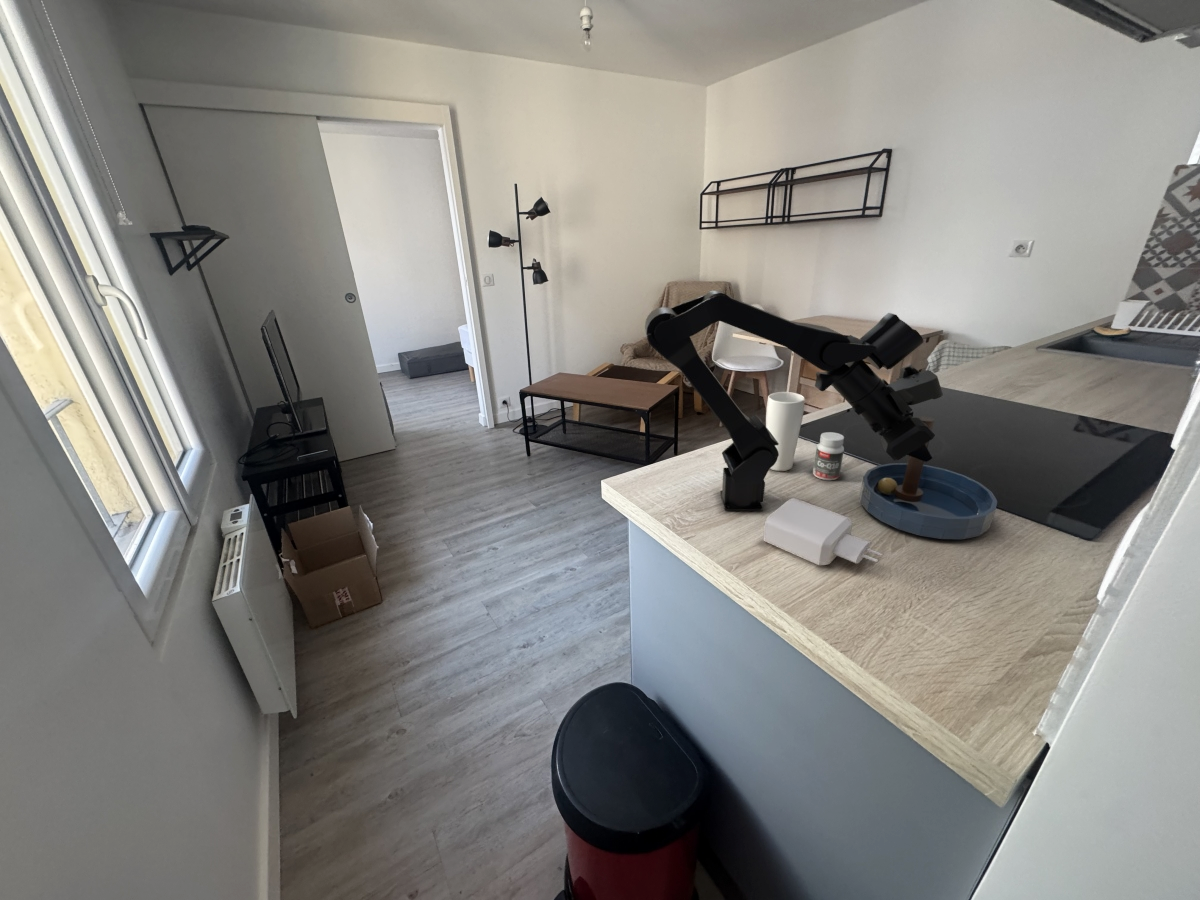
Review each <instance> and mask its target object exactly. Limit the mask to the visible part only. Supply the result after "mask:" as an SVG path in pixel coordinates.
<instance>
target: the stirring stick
mask: <svg viewBox="0 0 1200 900" xmlns="http://www.w3.org/2000/svg"><path fill="white" fill-rule="evenodd" d="M917 418H920V419H921V420H922V421H923V422H924V423H925V424H926V426H927V427H928V428H929V429H930V430H931V431H932V432H933V428H934V427H933V426H934V422H935V419H934V418H933V417H929V416H918V417H917ZM929 444H930V441H928V442H927V443H925V445H926V447H927V449H928V447H929ZM906 463H907V467H906V472H905V476H904V481H903V485H898V486H896V488H895V492H894V495H895V496H896V497H897V498H899V499H901V500H904V501H908V502H918V501H921V500H922V497H923V491H922V490H921V489H919V488H918V485H919V481H920V477H921V473H922V469H923V465H925V461H922V460H919V459H917V458H914V457H911V456H909V455H908V459H907V462H906Z"/></svg>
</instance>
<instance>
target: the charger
mask: <svg viewBox="0 0 1200 900" xmlns="http://www.w3.org/2000/svg"><path fill="white" fill-rule="evenodd" d="M853 525H854V524H853V522H852V521H851V519H850V518H849V516H846V515H843V514H840V513H838V512H834V511H831V510H829V509H826V508H824V507H821V506H818V505H814V504H812V503H809V502H807V501H803V500H800V499H798V498H795V497H791V498H789V499H788V500H787V501H786V502H784V503H783V504H782V505H781V506H779V507H778V508H776V510H774V511H773V512H771V514H770V515H768V516H767V517H766V519H765V521H764V528H763V529H764V530H763V541H764V543H767V544H769V545H772V546H774V547H777V548H778V549H781V550H783V551H786V552H788V553H790V554H793V555H794V556H797V557H799V558H801V559H804V560H806V561H808V562H811V563H813V564H815V565H817V566H826V565H830V564H831V563H832V562H833V561H834V560H835V559H836V557H840V558H841V559H844V560H847V561H849V562H851V563H854V564H860V563H861V561H862V560H863V559H866V560H869V561H871V562H873V563H878V562H879V559H877V558H875V557H872V556H870V555H867V554H868V553H870V554H872V555H875V556H878V557H880V558H881V557H882V558H883V556H884V555H883V553H882V552H879V551H876V550H873V549H871V546H872V542H871V541H869V540H866V539H864V538H861V537H858V536H855V535H854V534H852V531H853Z"/></svg>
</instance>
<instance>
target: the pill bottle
mask: <svg viewBox="0 0 1200 900" xmlns="http://www.w3.org/2000/svg"><path fill="white" fill-rule="evenodd" d="M819 437H820V438H819V442H818V443H817V445H816V449H815V455H814V461H813V462H814V463H813V467H812V468H813V469H812V474H813V476H814V477H816V479H817V478H818V479H819V480H823V481H835V480H837V479H839V477H840V473H841V469H842V464H843V457H844V453H845V447H844V441H845V436H844V435H843V434H841V433H838V432H834V431H833V432H832V431H827V432H826V431H825V432H822V433H821V434H820V436H819Z"/></svg>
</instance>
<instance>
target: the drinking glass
mask: <svg viewBox="0 0 1200 900" xmlns="http://www.w3.org/2000/svg"><path fill="white" fill-rule="evenodd" d="M805 399H806V398H805V396H803V395H802V394H800V393H797V392H790V391H777V392H773V393H770V394H769V395H768V396H767V400H766V401H767V402H766V409H765V426H766V428H768V430H769V431H770V432H771V434H772V435H773V437H774V438H775V439H776V441H777V442H778V443H779V444H778V445H775V447H776V448H777V450H778V453H779V456H778V458H777V461H776V463H775V464H774V465H773V466H772V467H771V468H770V469H769V470H772V471H775V472H776V471H777V472H786V471H790V470H791V469H792V468H793V466H794V460H795V454H796V449H797V445H798V440H799V436H800V432H801V429H802V424H803V418H804V411H805V402H806V401H805Z"/></svg>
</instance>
